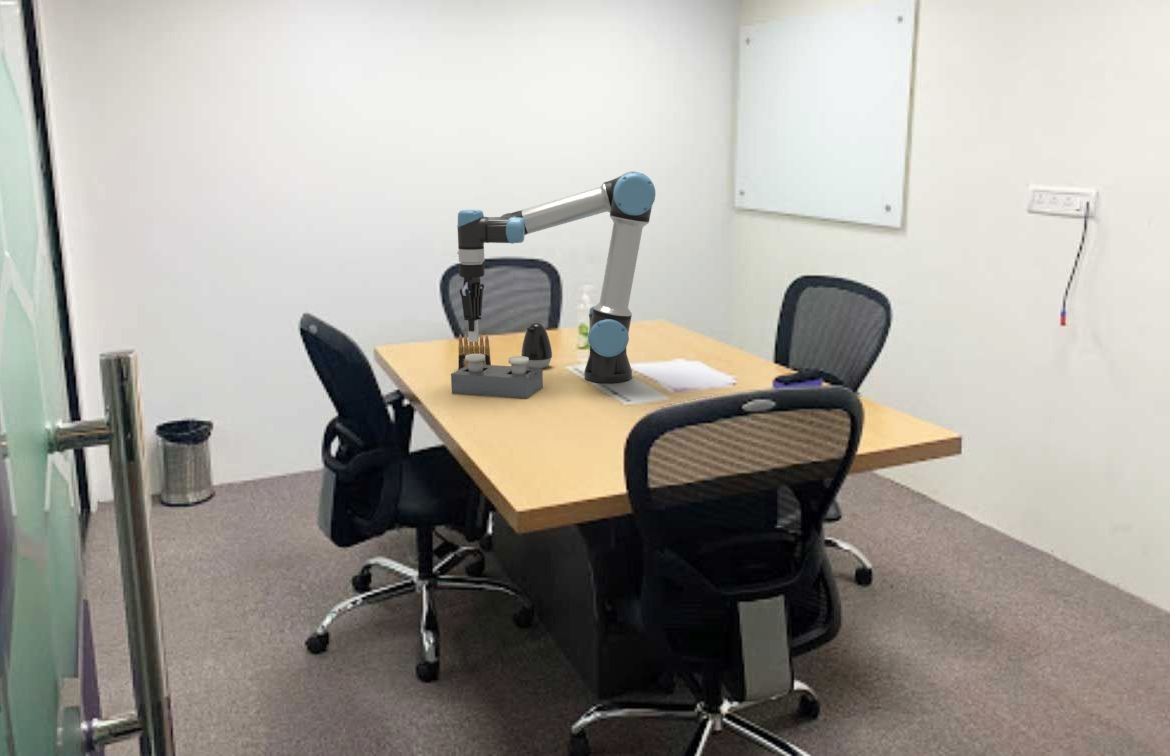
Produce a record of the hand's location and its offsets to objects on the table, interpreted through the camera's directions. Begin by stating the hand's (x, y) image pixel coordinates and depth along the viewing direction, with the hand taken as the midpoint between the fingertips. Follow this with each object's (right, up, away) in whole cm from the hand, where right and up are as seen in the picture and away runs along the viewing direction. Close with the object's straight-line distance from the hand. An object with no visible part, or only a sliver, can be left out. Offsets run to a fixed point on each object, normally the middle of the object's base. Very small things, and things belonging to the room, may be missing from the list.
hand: (473, 341), depth 282 cm
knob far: (0, -11, +3) cm, 12 cm away
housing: (+7, -15, +1) cm, 17 cm away
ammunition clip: (-3, -8, +29) cm, 30 cm away
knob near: (+14, -12, -1) cm, 18 cm away
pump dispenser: (+18, -8, +31) cm, 36 cm away
